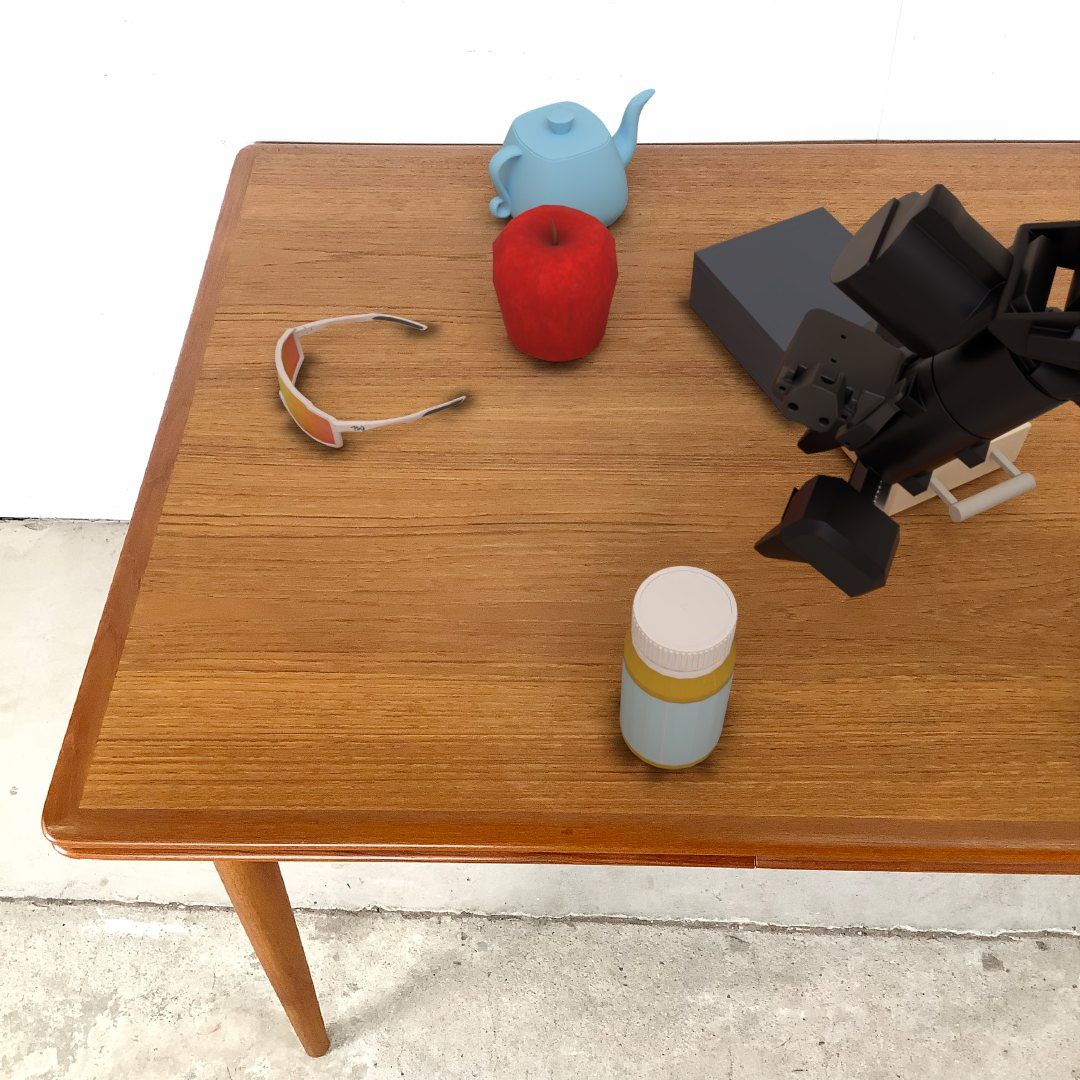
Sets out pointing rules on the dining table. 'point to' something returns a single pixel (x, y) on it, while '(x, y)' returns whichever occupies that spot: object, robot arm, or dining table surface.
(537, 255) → the apple
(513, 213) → the teapot
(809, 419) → the robot arm
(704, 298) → the cabinet
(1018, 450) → the drawer
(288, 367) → the sunglasses
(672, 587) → the bottle
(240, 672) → the dining table surface
